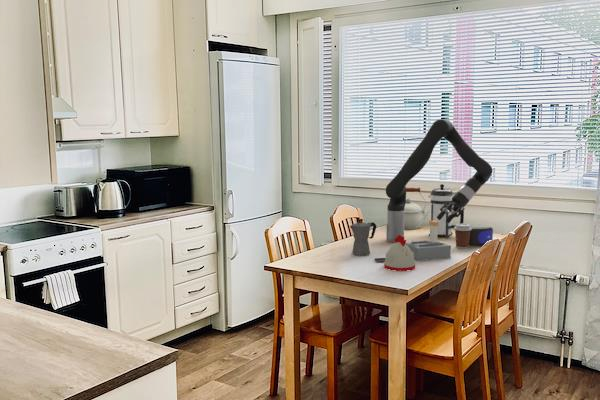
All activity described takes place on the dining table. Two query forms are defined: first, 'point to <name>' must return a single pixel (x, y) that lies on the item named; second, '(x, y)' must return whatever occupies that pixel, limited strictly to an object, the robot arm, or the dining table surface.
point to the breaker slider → (433, 232)
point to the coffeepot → (362, 237)
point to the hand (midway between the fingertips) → (442, 220)
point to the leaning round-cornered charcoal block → (480, 236)
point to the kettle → (413, 212)
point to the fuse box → (429, 250)
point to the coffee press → (437, 201)
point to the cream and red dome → (399, 256)
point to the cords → (380, 259)
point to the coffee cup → (462, 235)
